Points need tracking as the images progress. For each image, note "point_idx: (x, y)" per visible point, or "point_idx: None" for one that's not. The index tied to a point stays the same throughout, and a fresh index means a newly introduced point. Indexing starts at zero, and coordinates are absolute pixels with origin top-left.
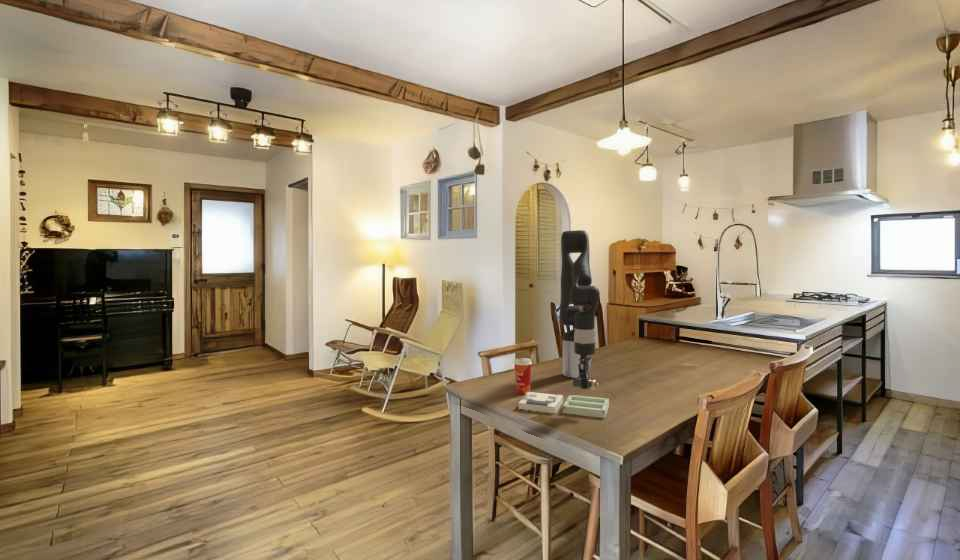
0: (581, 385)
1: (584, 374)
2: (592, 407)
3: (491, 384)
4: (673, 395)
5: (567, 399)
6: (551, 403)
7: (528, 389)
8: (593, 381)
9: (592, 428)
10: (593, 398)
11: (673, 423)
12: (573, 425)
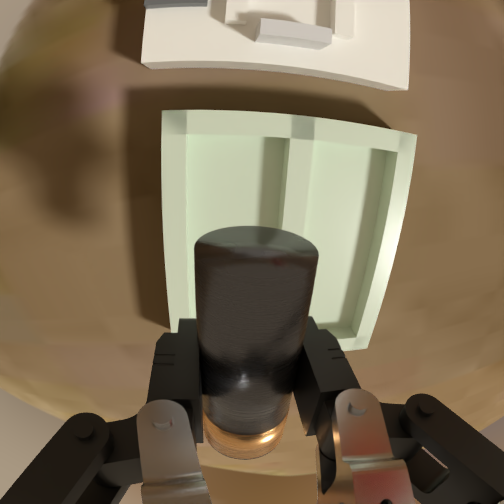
0: (178, 338)
1: (328, 420)
2: None
3: None
4: None
5: (322, 122)
6: (210, 21)
7: None
8: (223, 446)
9: (39, 293)
10: (371, 281)
11: (217, 466)
12: (27, 211)
